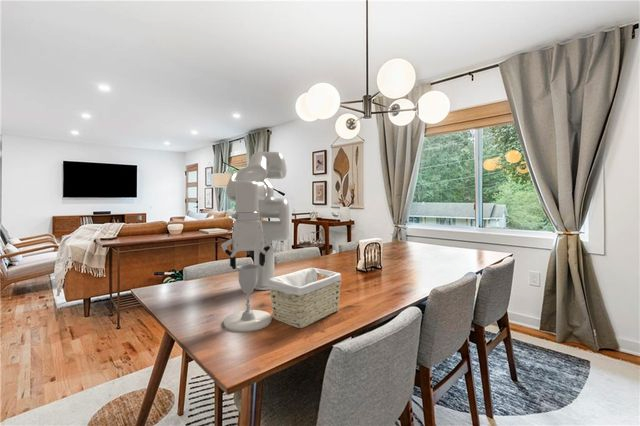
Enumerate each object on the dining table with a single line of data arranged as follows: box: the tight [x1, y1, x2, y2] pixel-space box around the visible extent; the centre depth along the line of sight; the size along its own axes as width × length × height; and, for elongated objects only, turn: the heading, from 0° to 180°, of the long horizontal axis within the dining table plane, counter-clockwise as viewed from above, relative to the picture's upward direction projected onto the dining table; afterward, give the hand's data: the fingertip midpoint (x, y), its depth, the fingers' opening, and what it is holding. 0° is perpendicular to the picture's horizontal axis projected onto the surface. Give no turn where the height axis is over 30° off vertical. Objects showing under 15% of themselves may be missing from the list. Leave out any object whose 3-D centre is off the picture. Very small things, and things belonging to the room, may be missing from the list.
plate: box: [223, 309, 272, 333], centre depth 107 cm, size 16×16×1 cm
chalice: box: [236, 263, 259, 321], centre depth 106 cm, size 7×7×18 cm
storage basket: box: [269, 267, 342, 329], centre depth 113 cm, size 24×16×15 cm
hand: (247, 266), depth 106 cm, fingers open, 9 cm apart
